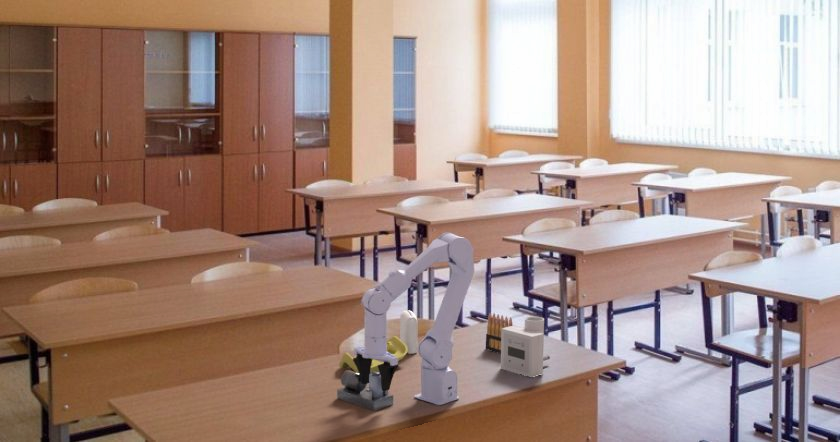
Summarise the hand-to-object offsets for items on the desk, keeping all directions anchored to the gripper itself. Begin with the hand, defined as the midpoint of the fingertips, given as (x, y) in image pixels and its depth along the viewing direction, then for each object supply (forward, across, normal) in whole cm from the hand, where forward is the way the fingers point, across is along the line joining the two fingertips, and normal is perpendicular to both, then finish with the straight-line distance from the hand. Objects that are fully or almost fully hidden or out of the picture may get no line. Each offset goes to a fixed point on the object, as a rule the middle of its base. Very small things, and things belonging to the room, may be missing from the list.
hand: (375, 386), depth 257 cm
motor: (+5, -4, 0) cm, 6 cm away
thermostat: (+5, +9, +55) cm, 56 cm away
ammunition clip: (+5, -9, +62) cm, 63 cm away
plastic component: (+5, -24, +24) cm, 34 cm away
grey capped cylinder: (+2, 0, 0) cm, 2 cm away
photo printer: (+5, -31, +44) cm, 54 cm away
